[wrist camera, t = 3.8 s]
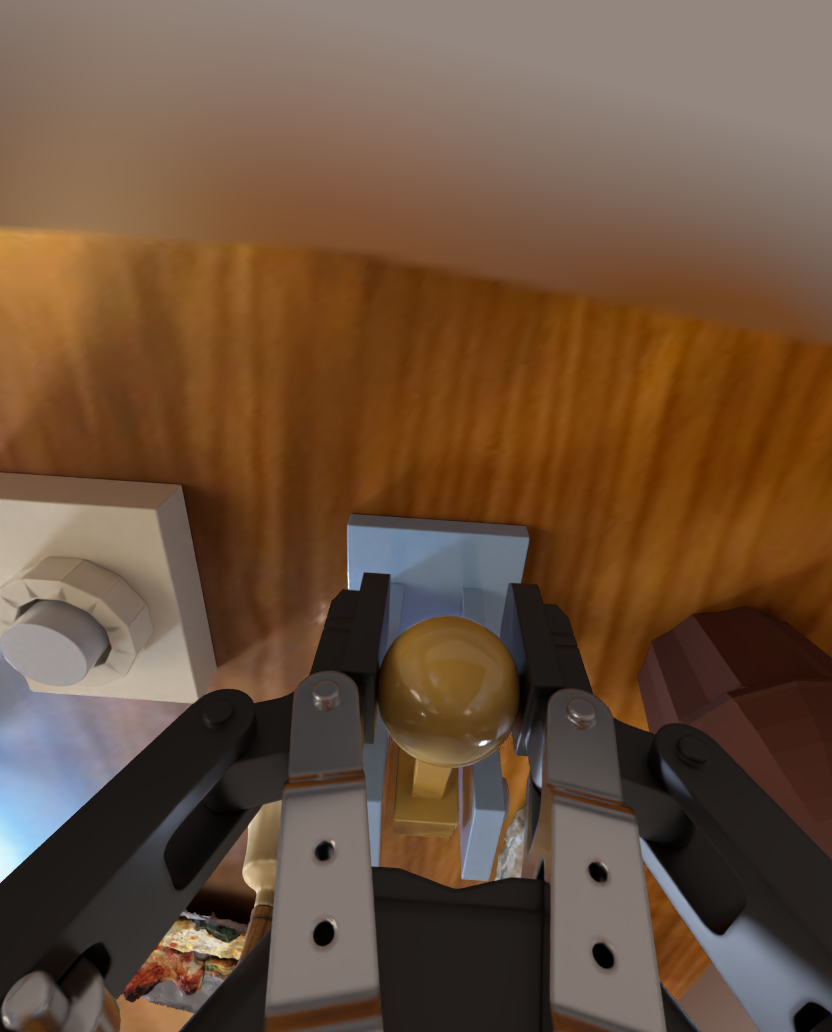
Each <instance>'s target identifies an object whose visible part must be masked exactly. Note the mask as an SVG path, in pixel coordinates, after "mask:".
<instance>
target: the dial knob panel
mask: <svg viewBox="0 0 832 1032" xmlns="http://www.w3.org/2000/svg"><path fill="white" fill-rule="evenodd" d="M44 600H59V601H65V602H67V603H69V604H71V605H73V606H76V607H78V608H80V609H82V610H84V611H87V612H88V613H89V614H90V615H91V616H92V617H93V618H94V619H96V620H97V621H98V622H99V623H100V624H101V625H102V626H103V627H104V628H105V630H106V632H107V635H108V647H107V650H106V651H105V653H104V654H103V655H102V657H101V658H100V659H99V660H98V662H97V663H96V664H95V665H94V667H93V668H92V669H91V670H90V672H89V673H88V674H87V675H86V677H85V678H84V679H83V680H81V681H80V682H78V683H76V684H73V685H69V686H52V685H47V684H43V683H40V682H37V681H34V680H32V679H30V678H28V677H26V676H25V679H26V681H27V683H28V685H29V687H30V689H31V691H33V692H46V693H59V694H73V695H86V696H100V697H113V698H126V699H140V700H153V701H167V702H180V703H194V702H196V701H197V700H198V699H199V698H201V697H202V696H204V695H205V693H206V691H207V689H208V687H209V685H210V683H211V681H212V679H213V677H214V675H215V673H216V671H217V665H216V660H215V655H214V650H213V645H212V640H211V634H210V629H209V624H208V619H207V614H206V609H205V604H204V598H203V593H202V588H201V583H200V578H199V573H198V567H197V562H196V557H195V552H194V547H193V542H192V536H191V531H190V526H189V521H188V516H187V511H186V505H185V500H184V495H183V490H182V486H181V485H177V484H163V483H149V482H134V481H120V480H105V479H91V478H76V477H62V476H48V475H33V474H19V473H4V472H0V638H1V636H2V633H3V632H4V631H5V630H6V629H7V628H8V627H9V626H10V625H11V624H12V623H13V622H15V621H16V620H17V619H18V618H19V617H20V616H21V615H22V614H23V613H24V612H25V611H27V610H28V609H29V608H30V607H31V606H32V605H34V604H35V603H38V602H40V601H44Z"/></svg>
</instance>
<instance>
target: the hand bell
mask: <svg viewBox="0 0 832 1032" xmlns="http://www.w3.org/2000/svg"><path fill="white" fill-rule="evenodd" d="M281 804H282V800H280V801H276V802H272V803H268V804H265V805H263V806H262V807H261V809H260V810H259V812H258V813H257V814H256V816H255V817H254V818H253V820H252V821H251V822H250V824H249V825H248V844H247V851H246V857H245V862H244V866H243V878H244V880H245V882H246V883H247V884H248V885H249V886H250V887H251V888H252V889H254V890H255V891H256V893H257V896H256V901H255V905H254V909H253V910H252V912H251V916H250V919H251V921H250V922H249V925H248V929H247V933H246V936H245V941H244V945H243V949H242V952H241V955H240V958H239V961H238V963H237V965H236V967H237V966H238V964H239V963H240V962H241V961H242V960H243V959H244V958H245V956H246V955H247V954H248V953H249V952H250V951H251V950H252V949H253V947H254V946H255V945H256V944H257V943H258V942H259V941H260V940H261V938H262V937H263V936H264V935H265V934H266V933H267V932H268V931H269V929H270V928H271V927H272V918H273V905H274V892H275V880H276V867H277V855H278V842H279V830H280V817H281Z"/></svg>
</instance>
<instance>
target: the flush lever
mask: <svg viewBox="0 0 832 1032" xmlns="http://www.w3.org/2000/svg"><path fill="white" fill-rule="evenodd" d="M377 703H378V708H379V712H380V716H381V718H382V721H383V723H384V725H385V727H386V729H387V731H388V733H389V734H390V736H391V737H392V738H393V740H394V741H395V742H396V743H397V744H398V745H399V746H400V747H399V755H398V768H397V781H396V794H395V806H394V827H393V832H394V834H402V835H415V836H428V837H441V838H451V836H452V834H453V832H454V830H455V829H456V827H457V825H458V782H459V767H464V766H469V765H472V764H475V763H477V762H479V761H482V760H483V759H485V758H487V757H488V756H490V755H491V754H492V753H494V752H495V751H496V750H497V749H498V748H499V747H500V746H501V745H502V744H503V743H504V741H505V740H506V739H507V738H508V736H509V734H510V733H511V731H512V729H513V727H514V725H515V722H516V720H517V717H518V713H519V709H520V703H521V684H520V677H519V673H518V670H517V667H516V664H515V661H514V659H513V657H512V655H511V653H510V652H509V650H508V649H507V647H506V646H505V644H504V643H503V642H502V641H501V639H500V638H499V637H498V636H497V635H496V634H494V633H493V632H492V631H491V630H490V629H488V628H487V627H485V626H483V625H482V624H480V623H478V622H476V621H474V620H471V619H468V618H465V617H460V616H453V615H441V616H434V617H430V618H426V619H423V620H421V621H419V622H417V623H415V624H413V625H411V626H410V627H408V628H407V629H406V630H404V631H403V632H402V633H401V634H400V635H399V636H398V637H397V638H396V639H395V640H394V641H393V642H392V644H391V645H390V647H389V648H388V650H387V651H386V653H385V655H384V657H383V660H382V662H381V665H380V668H379V673H378V682H377Z"/></svg>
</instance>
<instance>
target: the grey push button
mask: <svg viewBox="0 0 832 1032" xmlns="http://www.w3.org/2000/svg"><path fill="white" fill-rule="evenodd" d="M107 647H108V635H107V632H106V630H105V628H104V627H103V626H102V625H101V624H100V623H99V622H98V621H97V620H96V619H94V618H93V617H92V616H91V615H90V614H89V613H88V612H87V611H84V610H82V609H80V608H78V607H76V606H73V605H71V604H69V603H67V602H65V601H59V600H44V601H40V602H38V603H35V604H34V605H32V606H31V607H30V608H29V609H28V610H27V611H25V612H24V613H23V614H22V615H21V616H20V617H19V618H18V619H17V620H16V621H15V622H13V623H12V624H11V625H10V626H9V627H8V628H7V629H6V630H5V631H4V632H3V633H2V636H1V638H0V648H1V651H2V653H3V655H4V657H5V658H6V660H7V661H8V662H9V663H10V665H11V666H13V667H14V668H15V669H16V670H17V671H19V672H20V673H21V674H23V675H24V676H26V677H28V678H30V679H32V680H34V681H37V682H40V683H43V684H47V685H52V686H69V685H73V684H76V683H78V682H80V681H81V680H83V679H84V678H85V677H86V675H87V674H88V673H89V672H90V670H91V669H92V668H93V667H94V665H95V664H96V663H97V662H98V660H99V659H100V658H101V657H102V655H103V654H104V653H105V651H106V650H107Z"/></svg>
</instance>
